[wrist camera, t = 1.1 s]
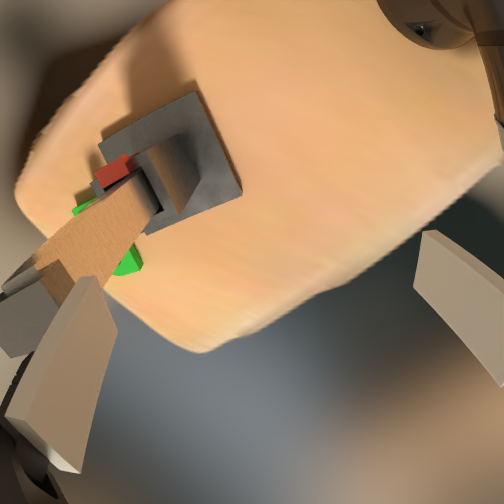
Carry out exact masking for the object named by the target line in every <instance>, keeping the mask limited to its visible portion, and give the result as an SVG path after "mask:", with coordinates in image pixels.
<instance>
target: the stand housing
mask: <svg viewBox="0 0 504 504" xmlns="http://www.w3.org/2000/svg"><path fill="white" fill-rule="evenodd" d="M98 146H99V148H100V150H101V152H102V154H103V156H104V158H105V160H106V162H107V164H108V165H106V166H104V167H103V168H101V169H99V170H98V171H96V172H95V173H94V174H95V176H96V178H97V179H96V180H94V181H93V182H91V183H90V185H91V187H92V189H93V190H94V192H95V194H96V196H97V198H98V197H99V196H101V195H102V194H103V193H104V192H106V191H107V190H108V189H110V188H111V187H112V186H113V185H115V184H116V183H118V182H119V181H120V180H122V179H123V178H125V177H126V176H127V175H128V174H130V173H131V172H133V171H134V170H136V169H137V168H139V167H141V166H142V168H143V170H144V172H145V174H146V176H147V178H148V180H149V182H150V184H151V186H152V188H153V190H154V191H155V193H156V195H157V197H158V199H159V201H160V203H161V206H160V208H159V209H158V210H157V211H156V213H155V214H154V215H153V217H152V218H151V219H150V221H149V222H148V223H147V225H146V226H145V228H144V229H143V230H142V232H141V233H143V232H145V234H146V236H147V235H149V234H151V233H154V232H156V231H158V230H160V229H163V228H165V227H167V226H170V225H172V224H174V223H177V222H179V221H181V220H184V219H186V218H188V217H191V216H193V215H196V214H198V213H200V212H203V211H205V210H208V209H210V208H213V207H215V206H218V205H220V204H223V203H225V202H228V201H230V200H233V199H235V198H238V197H240V196H242V193H243V192H242V189H241V187H240V185H239V183H238V180H237V178H236V176H235V174H234V172H233V169H232V167H231V165H230V163H229V160H228V158H227V156H226V154H225V152H224V149H223V147H222V145H221V143H220V141H219V138H218V136H217V134H216V132H215V130H214V127H213V125H212V123H211V121H210V119H209V117H208V114H207V112H206V110H205V108H204V106H203V104H202V101H201V99H200V97H199V95H198V93H197V91H193V92H191V93H189V94H187V95H185V96H182V97H180V98H178V99H176V100H174V101H172V102H170V103H168V104H166V105H165V106H163V107H161V108H159V109H157V110H155V111H153V112H151V113H150V114H148V115H146V116H144V117H142V118H141V119H139V120H137V121H135V122H134V123H132V124H130V125H128V126H127V127H125V128H123V129H122V130H120V131H118V132H117V133H115V134H113V135H112V136H110V137H109V138H107V139H106V140H104V141H102V142H101V143H99V144H98ZM141 233H140V234H141Z"/></svg>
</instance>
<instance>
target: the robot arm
mask: <svg viewBox="0 0 504 504" xmlns="http://www.w3.org/2000/svg"><path fill="white" fill-rule="evenodd" d="M377 2H378V4H379V6H380V8H381V10H382V12H383V13H384V15H385V16H386V17H387V19H388V20H389V21H390V23H391V24H392V25H393V26H394V27H395V28H396V29H397V30H398V31H399V32H400V33H402V34H403V35H404V36H405V37H407V38H408V39H409V40H411V41H413V42H414V43H416V44H418V45H420V46H423V47H426V48H429V49H434V50H446V49H453V48H457V47H460V46H462V45H463V44H465V43H466V42H467V41H469V40H470V39H471V38H472V37H474V36H475V38H476V41H477V44H478V47H479V50H480V53H481V56H482V59H483V63H484V66H485V70H486V73H487V77H488V81H489V85H490V90H491V94H492V99H493V104H494V109H495V114H494V118H495V122H496V124H497V125H498V130H499V135H500V140H501V146H502V150H503V152H504V0H377ZM413 287H414V288H415V290H416V291H417V292H418V293H419V294H420V295H421V296H422V297H423V298H424V299H425V300H426V301H427V302H428V303H429V304H430V305H431V306H432V307H433V308H434V310H436V312H437V313H438V314H439V315H440V316H441V317H442V318H443V319H444V321H445V322H447V324H448V325H449V326H450V327H451V328H452V329H453V331H454V332H455V333H456V334H457V335H458V336H459V337H460V338H461V340H462V341H463V342H464V343H465V344H466V345H467V347H468V348H469V349H470V350H471V351H472V353H473V354H474V355H475V356H476V357H477V358H478V360H479V361H480V362H481V364H482V365H483V366H484V367H485V368H486V370H487V371H488V372H489V373H490V375H491V376H492V377H493V378H494V380H495V381H496V382H497V383H498V385H499V386H500V387H502V386H504V279H503V278H501V277H500V276H499V275H497V274H496V273H495V272H494V271H492V270H491V269H490V268H488V267H487V266H486V265H485V264H483V263H482V262H481V261H479V260H478V259H477V258H475V257H474V256H473V255H471V254H470V253H468V252H467V251H465V250H464V249H463V248H461V247H460V246H458V245H457V244H456V243H454V242H453V241H452V240H450V239H449V238H447V237H446V236H444V235H443V234H441V233H440V232H438V231H437V230H431V231H423V234H422V241H421V248H420V253H419V259H418V265H417V270H416V276H415V281H414V286H413ZM117 333H118V331H117V329H116V326H115V324H114V321H113V319H112V316H111V314H110V311H109V309H108V306H107V303H106V301H105V298H104V296H103V293H102V290H101V287H100V285H99V282H98V279H97V276H96V275H94V276H86V277H79V279H78V281H77V282H76V284H75V285H74V287H73V288H72V290H71V291H70V293H69V294H68V296H67V298H66V299H65V301H64V302H63V304H62V306H61V307H60V309H59V310H58V312H57V314H56V315H55V317H54V319H53V321H52V322H51V324H50V326H49V327H48V329H47V331H46V333H45V334H44V336H43V338H42V340H41V342H40V343H39V345H38V347H37V349H36V351H32V352H31V353H30V354H29V355H28V356H27V357H26V358H25V359H24V360H23V361H22V363H21V365H20V367H19V369H18V371H17V372H16V374H17V375H16V376H15V377H14V378H13V380H12V385H10V387H9V389H8V391H7V393H6V395H5V397H4V399H3V401H2V404H1V406H0V504H68V502H67V500H66V499H65V497H64V495H63V493H62V491H61V490H60V488H59V486H58V484H57V482H56V480H55V478H54V476H53V474H52V473H51V472H50V470H49V469H48V464H49V461H50V462H51V463H53V464H54V465H55V466H56V467H57V468H59V469H60V470H63V471H68V472H74V473H81V468H82V463H83V459H84V453H85V449H86V444H87V440H88V435H89V431H90V427H91V423H92V419H93V414H94V411H95V407H96V403H97V399H98V396H99V392H100V388H101V385H102V381H103V378H104V374H105V371H106V368H107V364H108V361H109V358H110V354H111V351H112V348H113V345H114V342H115V339H116V336H117Z"/></svg>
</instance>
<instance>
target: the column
mask: <svg viewBox="0 0 504 504" xmlns="http://www.w3.org/2000/svg"><path fill="white" fill-rule="evenodd" d="M160 206H161V203H160V201H159V199H158V197H157V195H156V193H155V191H154V190H153V188H152V186H151V184H150V182H149V180H148V178H147V176H146V174H145V172H144V170H143V168H142V166H141V167H139V168H137V169H136V170H134V171H133V172H131V173H130V174H128V175H127V176H126V177H125V178H123V179H122V180H120V181H119V182H118V183H116V184H115V185H113V186H112V187H111V188H110V189H108V190H107V191H106V192H104V193H103V194H102V195H101V196H99V197H98V198H97V199H96V200H94V201H93V202H91V204H89V205H88V206H87V207H86V208H84V209H83V210H82V211H80V212H79V213H78V214H77V215H76V216H75V217H73V218H72V219H71V220H70V221H69V222H68V223H66V224H65V225H64V226H63V227H62V228H61V229H60V230H58V231H57V232H56V233H55V234H54V235H53V236H52V237H51V238H49V239H48V240H47V241H46V242H45V243H44V244H43V245H42V246H41V247H40V248H39V249H38V250H36V251H35V253H33V254H32V255H31V256H30V257H29V258H28V259H27V260H26V261H25V262H24V263H23V264H22V265H21V266H20V267H19V268H18V269H17V270H16V271H15V272H14V273H13V274H12V275H11V276H10V277H9V278H8V279H7V281H6V282H5V283H4V284H3V285H2V286H1V288H2V290H3V291H4V292H2V293H1V294H0V347H1V348H2V349H3V350H4V351H5V352H6V354H7V355H8V356H9V357H10V358H14V357H17V356H22V355H26V354H30V353H31V352H32V351H36V349H37V347H38V345H39V343H40V342H41V340H42V338H43V336H44V334H45V333H46V331H47V329H48V327H49V326H50V324H51V322H52V321H53V319H54V317H55V315H56V314H57V312H58V310H59V309H60V307H61V306H62V304H63V302H64V301H65V299H66V298H67V296H68V294H69V293H70V291H71V290H72V288H73V287H74V285H75V284H76V282H77V281H78V279H79V277H86V276H94V275H96V276H97V279H98V282H99V285H100V287H101V290H102V288H103V287H104V285H105V284H106V282H107V281H108V279H109V278H110V276H111V275H112V273H113V272H114V270H115V269H116V267H117V266H118V264H119V263H120V261H121V260H122V258H123V257H124V256H125V254H126V253H127V251H128V250H129V248H130V247H131V246H132V244H133V243H134V241H135V240H136V239H137V237H138V236H139V234H140V233H141V232H142V230H143V229H144V228H145V226H146V225H147V223H148V222H149V221H150V219H151V218H152V217H153V215H154V214H155V213H156V211H157V210H158V209H159V208H160Z"/></svg>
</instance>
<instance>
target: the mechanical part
mask: <svg viewBox="0 0 504 504" xmlns="http://www.w3.org/2000/svg"><path fill="white" fill-rule="evenodd" d="M96 199H97V197H95V198H93V199H91V200H89V201H86V202H84V203H82V204H80V205H78V206H77V207H75V208H74V209H73V210H72V212H73V214H74V216H76V215H77V214H78V213H79V212H80V211H82V210H83V209H84V208H86V207H87V206H88V205H89V204H91V202H93V201H94V200H96ZM142 266H143V262H142V260H141V258H140V256H139V254H138V252H137V250H136V248H135V246H134V244H132V246H131V247H130V248H129V250H128V251H127V253H126V254H125V256H124V257H123V258H122V260H121V261H120V263H119V264H118V266H117V267H116V269H115V270H114V272H113V273H112V275H116V276H122V275H126V274H129V273H133V272H136V271H140V269H141V268H142Z"/></svg>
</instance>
